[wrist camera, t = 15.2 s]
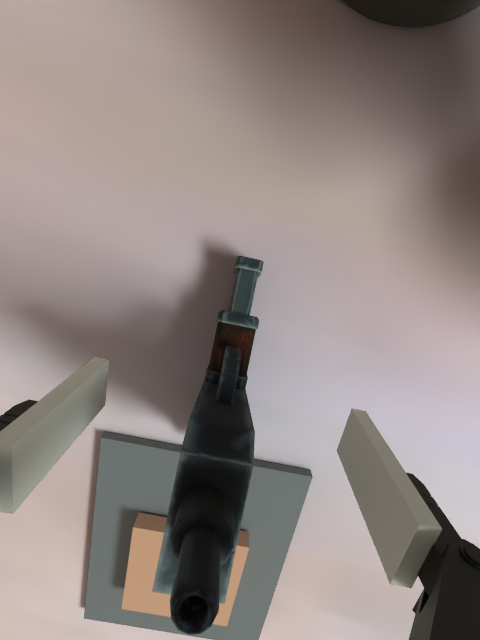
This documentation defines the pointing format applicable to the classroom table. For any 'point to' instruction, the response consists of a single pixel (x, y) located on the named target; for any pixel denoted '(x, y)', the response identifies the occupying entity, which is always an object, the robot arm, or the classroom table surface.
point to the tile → (145, 565)
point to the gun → (212, 471)
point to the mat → (154, 498)
